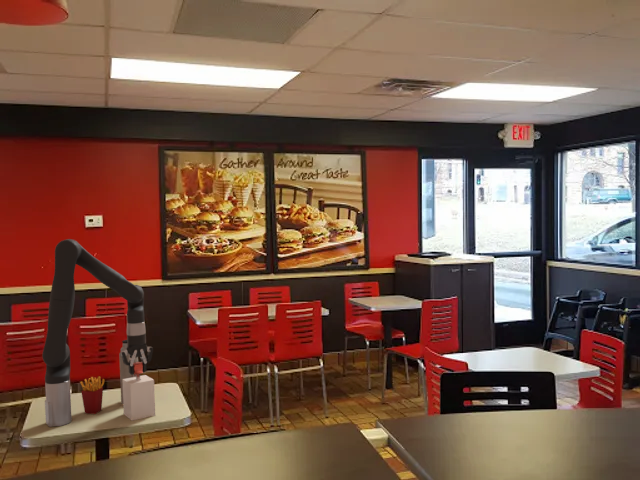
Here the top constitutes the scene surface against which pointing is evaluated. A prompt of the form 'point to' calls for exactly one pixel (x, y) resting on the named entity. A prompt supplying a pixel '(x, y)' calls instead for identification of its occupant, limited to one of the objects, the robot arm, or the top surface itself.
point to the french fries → (92, 395)
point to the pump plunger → (138, 369)
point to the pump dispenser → (138, 397)
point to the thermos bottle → (125, 368)
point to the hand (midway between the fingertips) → (137, 373)
